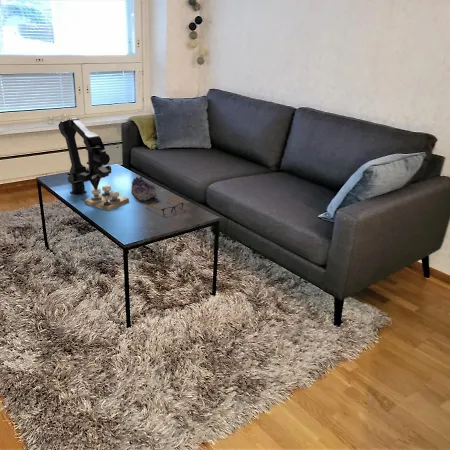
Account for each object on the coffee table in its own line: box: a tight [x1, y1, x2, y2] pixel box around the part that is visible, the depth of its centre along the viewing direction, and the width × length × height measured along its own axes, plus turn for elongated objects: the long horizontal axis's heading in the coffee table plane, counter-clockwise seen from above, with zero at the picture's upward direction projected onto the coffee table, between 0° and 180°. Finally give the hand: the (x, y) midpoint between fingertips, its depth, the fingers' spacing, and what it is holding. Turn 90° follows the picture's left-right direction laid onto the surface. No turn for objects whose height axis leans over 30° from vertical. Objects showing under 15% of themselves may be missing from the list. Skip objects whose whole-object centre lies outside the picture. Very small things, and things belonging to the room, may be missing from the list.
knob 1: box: [91, 187, 102, 198], centre depth 239 cm, size 5×5×4 cm
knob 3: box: [109, 190, 120, 200], centre depth 239 cm, size 5×5×4 cm
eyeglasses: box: [145, 198, 184, 216], centre depth 238 cm, size 14×14×4 cm
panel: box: [84, 191, 130, 211], centre depth 241 cm, size 16×16×2 cm
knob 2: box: [101, 184, 112, 194], centre depth 246 cm, size 5×5×4 cm
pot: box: [104, 197, 111, 206], centre depth 233 cm, size 2×2×4 cm
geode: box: [130, 176, 157, 202], centre depth 253 cm, size 20×12×10 cm, turn 35°
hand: (95, 189), depth 238 cm, fingers closed, pressing on knob 1
